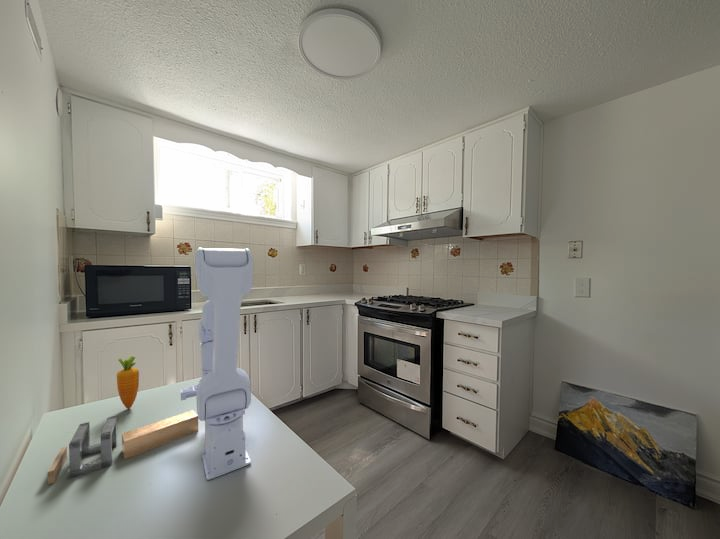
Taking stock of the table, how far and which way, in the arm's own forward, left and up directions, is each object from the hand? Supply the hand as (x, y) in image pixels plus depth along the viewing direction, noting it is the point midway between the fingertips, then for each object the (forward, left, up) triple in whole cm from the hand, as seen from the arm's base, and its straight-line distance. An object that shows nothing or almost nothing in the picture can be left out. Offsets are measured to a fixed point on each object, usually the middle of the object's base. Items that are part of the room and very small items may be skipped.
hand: (215, 419), depth 72 cm
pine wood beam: (0, +11, -2) cm, 11 cm away
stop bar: (0, +28, -1) cm, 28 cm away
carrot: (+23, +19, -1) cm, 30 cm away
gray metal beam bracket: (0, +24, -1) cm, 24 cm away
